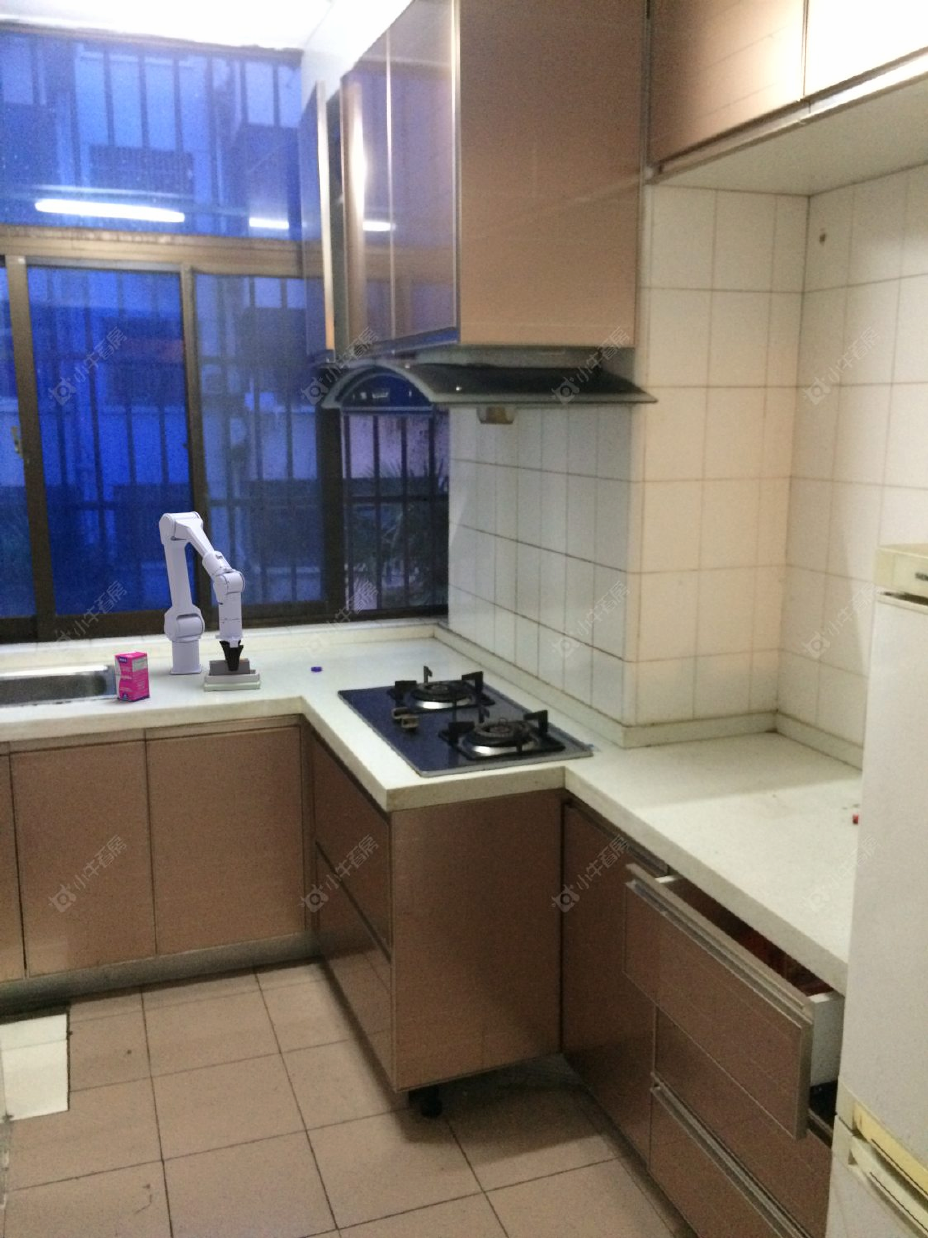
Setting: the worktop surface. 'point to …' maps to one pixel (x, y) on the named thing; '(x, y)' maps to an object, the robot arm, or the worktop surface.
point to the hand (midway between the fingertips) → (232, 668)
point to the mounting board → (233, 681)
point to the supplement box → (132, 676)
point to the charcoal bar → (222, 668)
